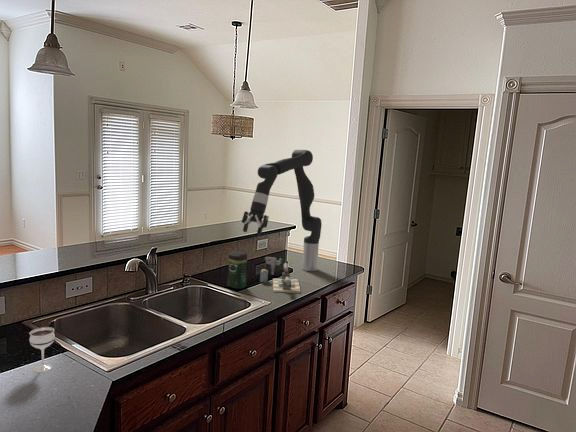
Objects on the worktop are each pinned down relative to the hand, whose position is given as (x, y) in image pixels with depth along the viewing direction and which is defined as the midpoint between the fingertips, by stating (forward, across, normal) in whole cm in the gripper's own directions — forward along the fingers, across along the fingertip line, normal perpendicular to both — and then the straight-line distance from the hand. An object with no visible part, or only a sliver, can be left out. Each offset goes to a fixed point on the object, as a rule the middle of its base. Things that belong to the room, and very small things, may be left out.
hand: (251, 233), depth 211 cm
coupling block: (+23, +1, -24) cm, 33 cm away
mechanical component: (+19, +5, -38) cm, 42 cm away
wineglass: (+60, 0, +88) cm, 107 cm away
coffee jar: (+28, +6, -8) cm, 30 cm away
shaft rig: (+22, -13, -25) cm, 36 cm away
